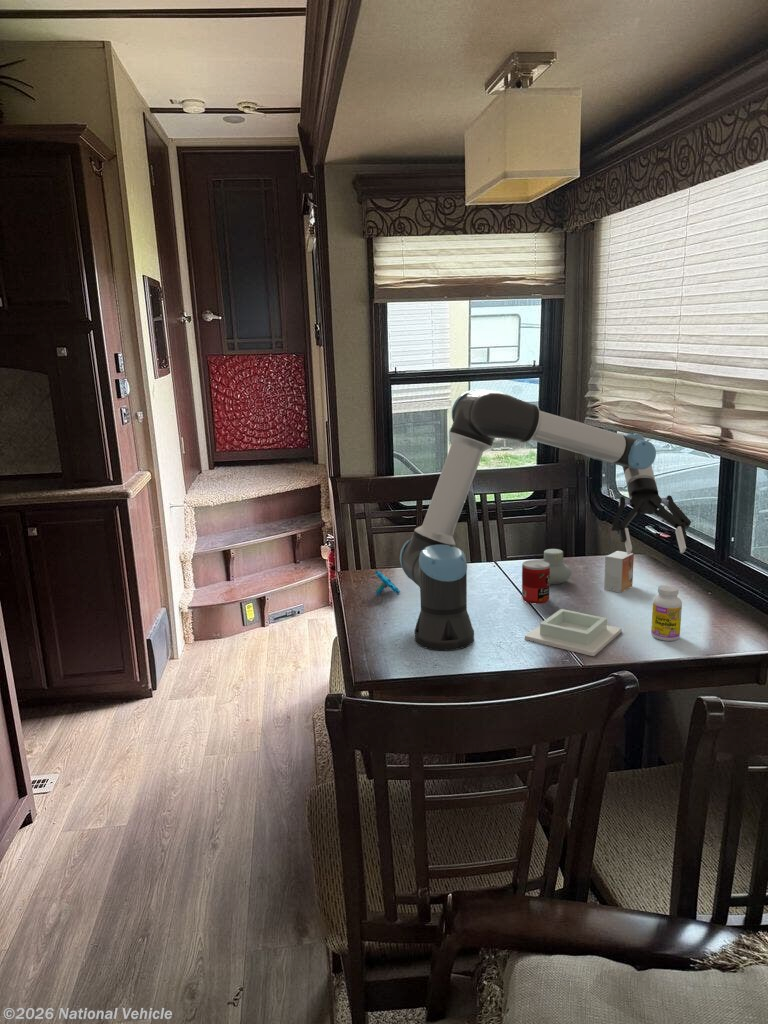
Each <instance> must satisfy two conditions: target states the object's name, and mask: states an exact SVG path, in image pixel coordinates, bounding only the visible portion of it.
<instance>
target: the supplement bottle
mask: <svg viewBox="0 0 768 1024" xmlns="http://www.w3.org/2000/svg"><path fill="white" fill-rule="evenodd" d="M657 592H658V595H655V596H654V598H653V600H652V614H651V615H652V617H651V631H650V632H651V635H652V637H653V638H654V639H657V640H659V641H664V642H674V641H676V640H678V639H680V636H681V623H682V608H683V601H682V599H681V598H680V597H678V595H679V593H680V592H679V588H678V587H677V586H675V585H668V584H661V585H659V586H658V588H657Z"/></svg>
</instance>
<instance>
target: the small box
mask: <svg viewBox="0 0 768 1024" xmlns="http://www.w3.org/2000/svg"><path fill="white" fill-rule="evenodd" d="M634 556H635V554H634V553H633V552H631V554H630V555H627V551H621V550H616V551H614V552H612V553H610V554H608V555H605V556H604V559H605V560H604V580H603V585H604V588H603V589H604V590H606V589H607V591H611V590H612V592H618V593H624V591H626V590H628V589H630V588H632V587H633V581H634V580H633V579H634V560H635V559H634Z"/></svg>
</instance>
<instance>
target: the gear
mask: <svg viewBox="0 0 768 1024" xmlns="http://www.w3.org/2000/svg"><path fill="white" fill-rule="evenodd" d="M374 574H376V576H377V577H378V578H379V580H380V585H379V586H378V587H377V591H376V592H375V594H376V595H377V596H378V595H380V594H381V592H383V590H385V589H387V588H390V589H391V591H392V592H393V593H396V594H397V595H399V594H400V593H401V590H400V589H399V588H398V587H397V586H396V585H395V584H394V583H393V582H392V580H391V579H390V578H388V577H387V576H386V575H385V574H383V573H382V572H380V571H379V570H375V572H374Z"/></svg>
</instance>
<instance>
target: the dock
mask: <svg viewBox="0 0 768 1024" xmlns="http://www.w3.org/2000/svg"><path fill="white" fill-rule="evenodd" d="M621 633H622V627H618V626H614V625H608V618H607V617H603V616H598V615H593V614H588V613H584V612H578V611H575V610H574V611H573V610H570V609H569V610H568V609H564V608H560V609H559V610H557V611H555V612H554V613H553V614H551V615H550V616H549V617H547V618H545V620H543V621H542V622H539V625H538V626H537V627H535V628H534V629H533V630H531V631H529V632H528V633H526V634H525V635H524V640H525V641H529V640H530V641H529V642H533V641H534V642H533V643H537V642H538V644H542V645H547V646H548V647H549V646H550V647H555V648H559V649H562V650H566V651H570V652H574V653H578V654H581V655H582V654H583V655H586V656H591V657H595V656H596V655H597V654H598V653H600V652H601V650H603V649H604V648H605V647H606V646H607V645H609V644H610V643H611V642H612V641H613V640H615V638H616V637H617V636H618V635H619V634H621Z"/></svg>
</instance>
